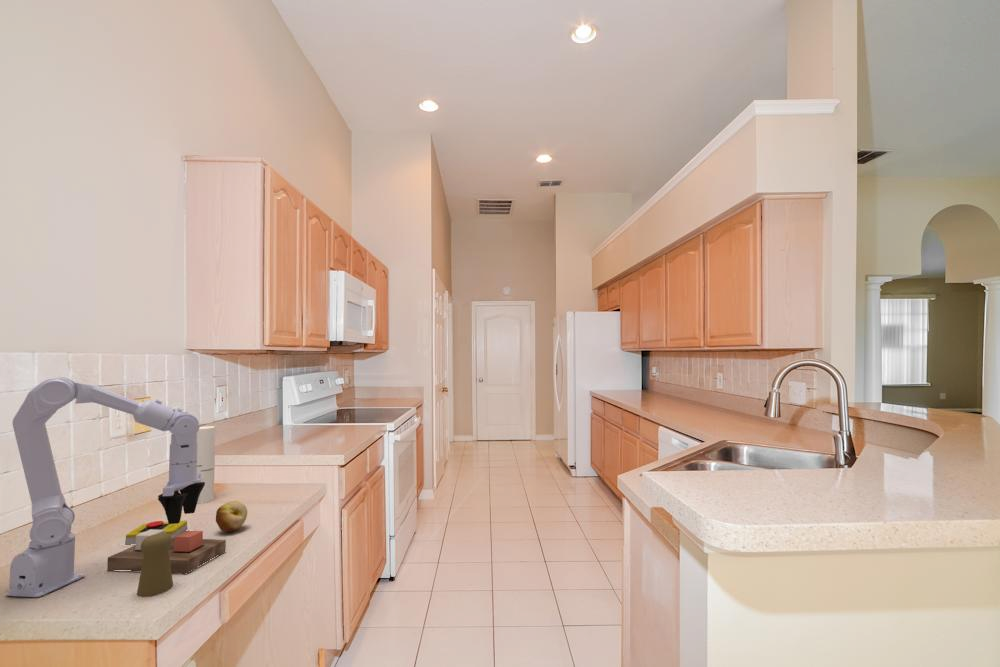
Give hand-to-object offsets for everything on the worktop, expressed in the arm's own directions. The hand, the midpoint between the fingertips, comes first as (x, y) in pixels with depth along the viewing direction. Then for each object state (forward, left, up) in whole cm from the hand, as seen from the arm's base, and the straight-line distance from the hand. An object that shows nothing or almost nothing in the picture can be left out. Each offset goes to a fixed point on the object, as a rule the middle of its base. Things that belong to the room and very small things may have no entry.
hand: (182, 518), depth 114 cm
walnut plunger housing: (-4, 0, -9) cm, 10 cm away
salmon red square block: (-4, -5, -6) cm, 8 cm away
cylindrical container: (+42, +30, -9) cm, 53 cm away
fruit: (+16, -1, -9) cm, 19 cm away
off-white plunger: (-4, +5, -6) cm, 8 cm away
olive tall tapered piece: (-17, -9, -9) cm, 21 cm away
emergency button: (+10, +16, -10) cm, 21 cm away
